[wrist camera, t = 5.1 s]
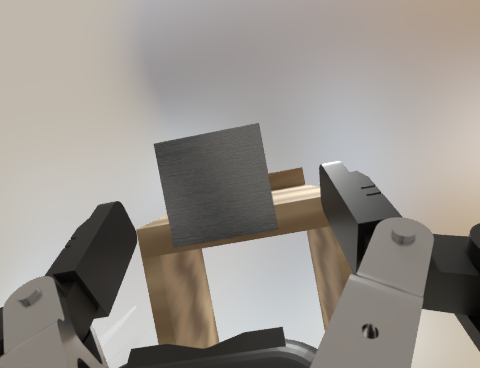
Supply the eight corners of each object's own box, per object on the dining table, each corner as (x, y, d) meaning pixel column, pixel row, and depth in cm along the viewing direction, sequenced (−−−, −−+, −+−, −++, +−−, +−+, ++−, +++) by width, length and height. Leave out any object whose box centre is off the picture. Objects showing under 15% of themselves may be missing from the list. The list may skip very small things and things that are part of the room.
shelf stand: (429, 663, 19) (340, 161, 18) (223, 678, 20) (130, 200, 19) (349, 438, 35) (300, 167, 34) (238, 452, 36) (188, 188, 35)
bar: (278, 229, 10) (258, 122, 10) (173, 248, 11) (153, 143, 11) (263, 192, 32) (257, 158, 32) (229, 198, 33) (223, 164, 33)
